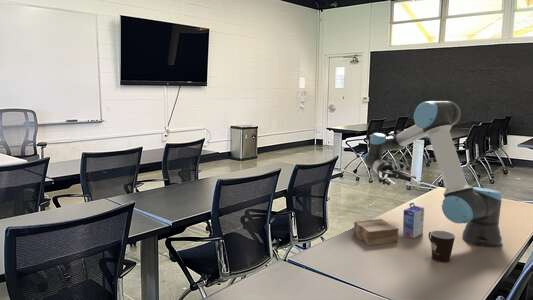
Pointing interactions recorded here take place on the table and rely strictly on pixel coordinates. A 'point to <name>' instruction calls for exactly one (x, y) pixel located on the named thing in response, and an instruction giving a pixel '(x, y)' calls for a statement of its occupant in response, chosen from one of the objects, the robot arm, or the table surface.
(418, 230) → the ink cartridge box
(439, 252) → the coffee mug
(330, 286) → the table surface
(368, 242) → the walnut plinth
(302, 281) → the table surface
